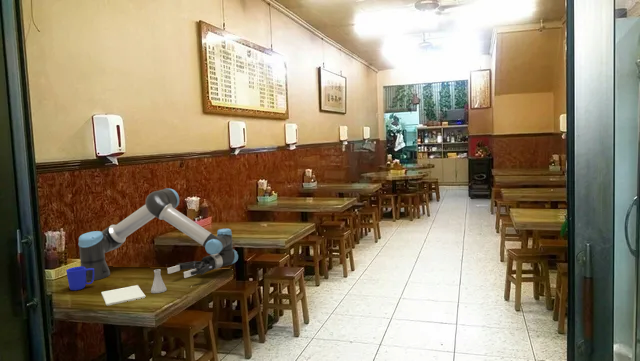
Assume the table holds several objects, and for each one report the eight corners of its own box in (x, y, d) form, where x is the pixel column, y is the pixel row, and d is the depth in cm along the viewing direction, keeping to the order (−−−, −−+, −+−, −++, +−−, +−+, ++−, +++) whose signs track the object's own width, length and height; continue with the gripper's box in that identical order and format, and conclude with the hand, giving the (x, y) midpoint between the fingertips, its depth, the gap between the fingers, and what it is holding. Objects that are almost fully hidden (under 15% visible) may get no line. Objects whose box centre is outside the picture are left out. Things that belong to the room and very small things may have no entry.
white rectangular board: (101, 293, 214) (101, 292, 214) (137, 286, 222) (137, 285, 222) (106, 305, 197) (106, 304, 197) (145, 297, 205) (145, 296, 205)
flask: (149, 294, 210) (147, 273, 209) (152, 289, 217) (150, 268, 216) (166, 292, 211) (164, 271, 210) (168, 287, 218) (166, 267, 217)
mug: (94, 288, 222) (92, 268, 221) (66, 292, 218) (64, 272, 217) (97, 284, 230) (95, 264, 229) (70, 287, 226) (68, 267, 225)
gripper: (227, 273, 230) (192, 284, 213) (197, 266, 245) (162, 276, 229) (226, 258, 229) (191, 268, 213) (196, 252, 245) (160, 262, 228)
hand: (175, 273), depth 221 cm, fingers open, 13 cm apart
